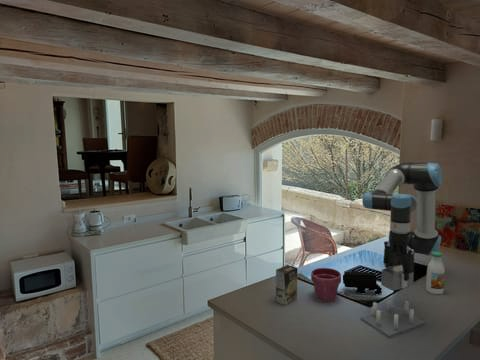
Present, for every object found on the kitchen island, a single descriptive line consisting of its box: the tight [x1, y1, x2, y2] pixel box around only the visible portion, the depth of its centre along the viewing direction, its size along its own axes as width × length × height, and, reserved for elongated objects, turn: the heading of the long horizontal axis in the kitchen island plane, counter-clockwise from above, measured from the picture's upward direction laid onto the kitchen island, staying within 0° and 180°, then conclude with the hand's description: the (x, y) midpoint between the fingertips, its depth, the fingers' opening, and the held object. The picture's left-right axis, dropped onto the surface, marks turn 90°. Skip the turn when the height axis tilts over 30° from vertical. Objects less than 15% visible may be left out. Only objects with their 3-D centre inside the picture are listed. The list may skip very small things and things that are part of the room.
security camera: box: [342, 270, 383, 296], centre depth 173 cm, size 7×18×10 cm, turn 78°
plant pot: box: [310, 267, 342, 303], centre depth 168 cm, size 14×14×13 cm
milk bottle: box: [425, 251, 446, 295], centre depth 172 cm, size 8×8×20 cm
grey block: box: [380, 265, 415, 292], centre depth 147 cm, size 12×6×7 cm, turn 115°
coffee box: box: [275, 264, 298, 306], centre depth 167 cm, size 9×6×16 cm
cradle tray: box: [360, 297, 426, 339], centre depth 147 cm, size 21×15×7 cm
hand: (397, 284), depth 147 cm, fingers closed on grey block, 6 cm apart
